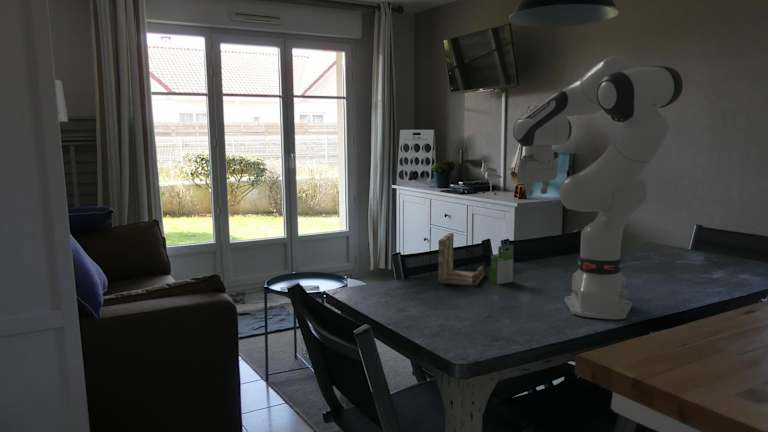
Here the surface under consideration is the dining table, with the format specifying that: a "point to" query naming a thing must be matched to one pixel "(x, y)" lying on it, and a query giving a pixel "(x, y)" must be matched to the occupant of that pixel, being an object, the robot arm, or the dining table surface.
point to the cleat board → (446, 266)
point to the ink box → (502, 266)
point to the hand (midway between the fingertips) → (536, 194)
